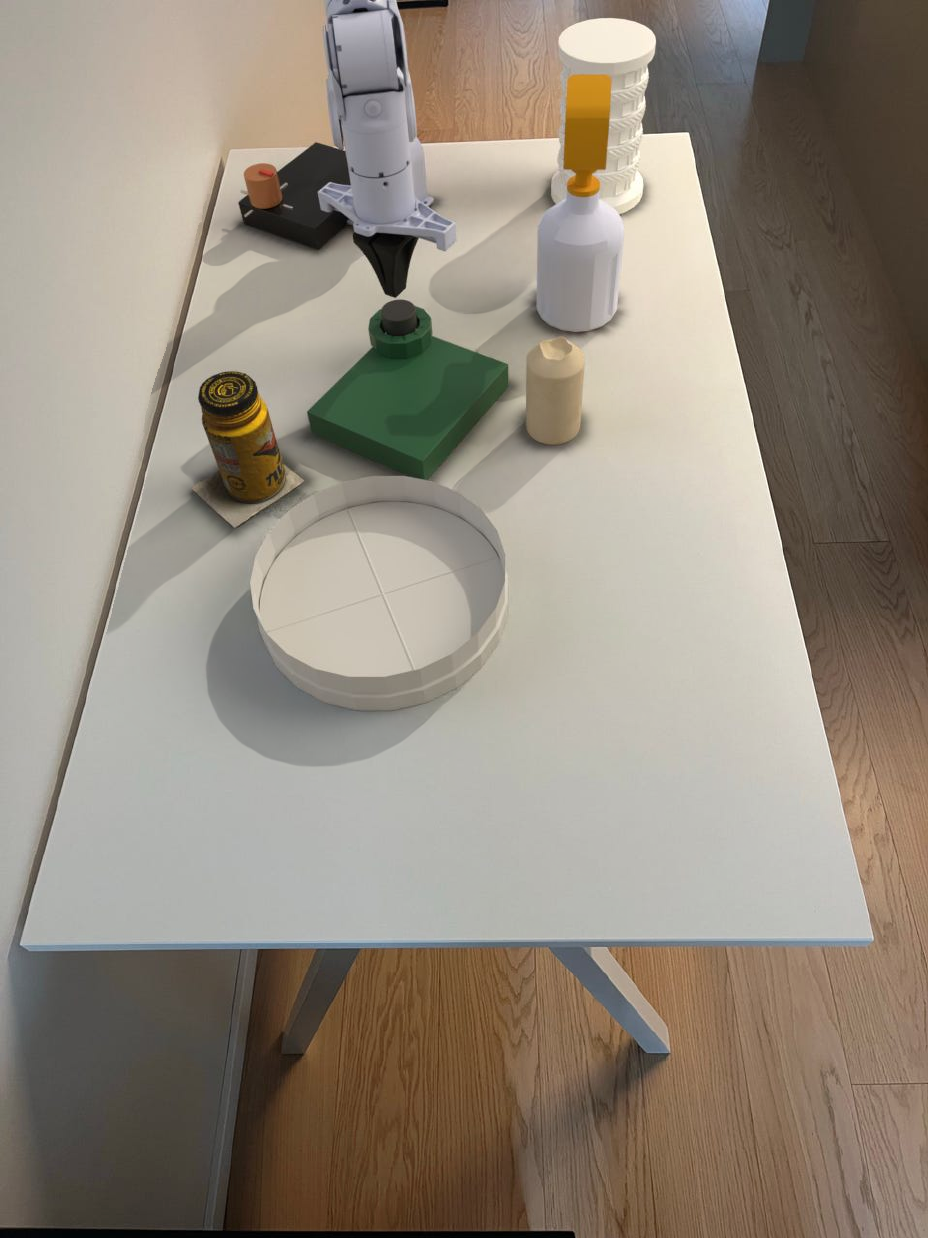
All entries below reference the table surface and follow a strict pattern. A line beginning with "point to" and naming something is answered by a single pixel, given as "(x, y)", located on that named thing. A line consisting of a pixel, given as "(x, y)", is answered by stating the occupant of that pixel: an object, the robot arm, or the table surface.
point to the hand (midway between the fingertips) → (395, 290)
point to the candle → (554, 391)
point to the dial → (263, 185)
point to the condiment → (241, 449)
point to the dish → (381, 592)
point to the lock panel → (303, 199)
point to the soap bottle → (581, 221)
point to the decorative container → (625, 60)
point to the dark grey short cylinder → (399, 318)
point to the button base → (409, 399)
